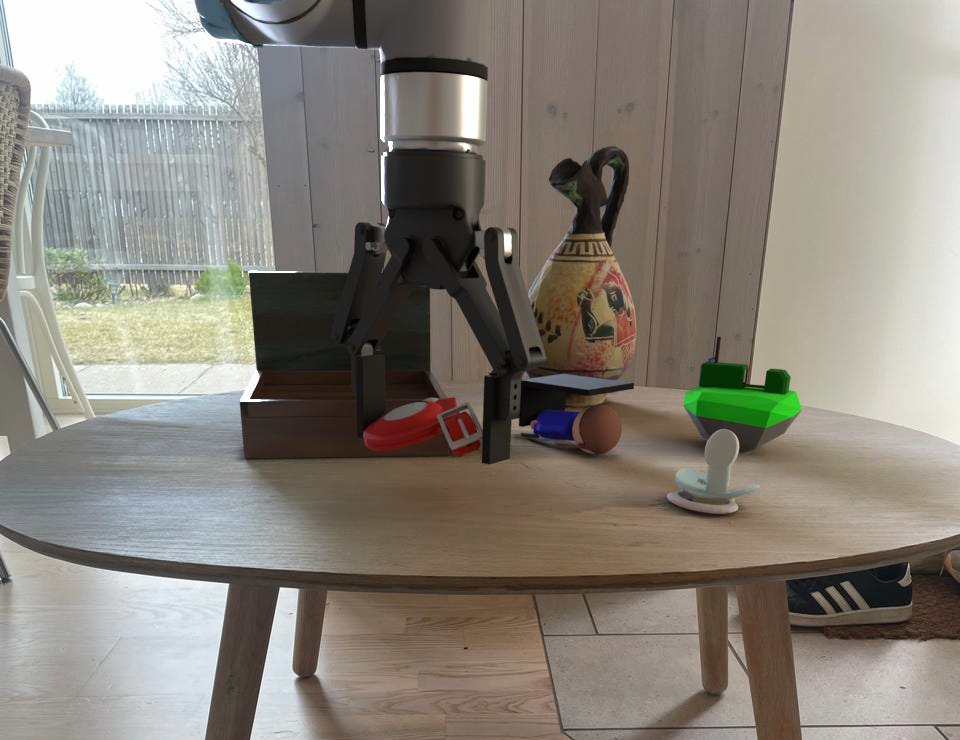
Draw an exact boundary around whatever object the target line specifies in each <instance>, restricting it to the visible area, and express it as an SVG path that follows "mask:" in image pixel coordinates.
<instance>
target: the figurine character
mask: <svg viewBox="0 0 960 740" xmlns="http://www.w3.org/2000/svg"><path fill="white" fill-rule="evenodd" d="M634 389H635V383H634V382H630V381H622V380H617V381H616V380H608V379H600V378H592V377H584V376H576V375H569V374H558V375H550V376H543V377H536V378H529V379H528V378H523V379H521V398H520V413H519V415H518V418H516V419H518V427H522V428H524V427H529V426H530V428H531V430H532V432H527V431H521V432H520V435H521V437H522V438H531V439H539V438H540V437H541V438H544V439H550V440H551V439H552V440H560V441H570V442H575V444H576V446H577V447H578V448H579V449H580V450H581V451H583V452H584V453H586V454H590V455H603V454H605V453H608V452H609V451H611V450H613V449H614V448H615V447H616V446H617V445H618V443H619V442H620V440H621V437H622V433H623V432H622V431H623V424H622V420H621V418H620V416H619V415H618V413H617V412H616V411H615V410H614V409H612V408H611V407H610V406H607V405H603V404H598V405H588V406H586V407H585V408H583V409H582V410H581V411H572V410H566V408H567V406H566V393H572V394H578V395H585V396H592V395H598V394H605V393H608V394H611V393H617V392H622V391H629V390H634ZM516 419H515V420H516Z"/></svg>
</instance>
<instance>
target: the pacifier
mask: <svg viewBox="0 0 960 740" xmlns="http://www.w3.org/2000/svg"><path fill="white" fill-rule="evenodd" d="M704 447H705V448H704V458H705V462H706V464H707V471H706V474H705V473H704V472H702V471H699V470H696V469H693V468H688V467H683V468H680V469H678V470H677V472H676V474H675V483H676V485H677V486H678V487H679V489H680V490H676V491H672V492H669V493H668V495H667V499H668V500H669V502H671V504H674V505H676V506H678V507H681V508H683V509H687V510H690V511H695V512H700V513H707V514H717V515H718V514H719V515H721V514H723V515H724V514H732V513H735V512H736V511H738V510H739V505H738V504H737V502H735V501H736V498H740V497H744V496H747V495H750V494H752V493H754V492H756V491H758V490H760V486H761V485H760V484H757V485H753V486H750V487H746V488H737V489H736V488H735V489H729V485H730V478H731V469H732V465H733V464H734V463H735V461H736V460H737V457H738V455H739V453H740V451H739V441H738V439H737V437H736V435H735V434H734V433H733V432H732V431H730V430H727V429H721V430H718V431H716V432H715V433H714V434H712V435H711V437H710V438H709V440H707V442H706V444H705V446H704ZM699 482H700V483H699ZM701 483H702V484H701ZM689 499H692V500H689Z"/></svg>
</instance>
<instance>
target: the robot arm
mask: <svg viewBox="0 0 960 740" xmlns="http://www.w3.org/2000/svg"><path fill="white" fill-rule="evenodd" d="M194 4H195V9H196V12H197V13H198V16H199V21H200V24H201V27H202V28H203V29H204V32H206V34H207V35H208V36H209V37H210V38H212V39H213V40H215V41H218V42H226V43H235V44H243V45H249V46H250V47H252V48H254V49H255V48H256V49H259V48H260V49H261V48H264V46H275V47H276V46H278V47H306V48H307V47H308V48H337V49H338V48H340V49H341V48H342V49H343V48H344V49H357V50H362V51H363V50H366V51H367V50H377V51H379V57H380V66H379V67H380V139H381V141H382V142H383V143H385V144H388V147H389V150H386V151H384V152H383V155H381V158H380V160H381V161H380V162H381V163H380V166H381V168H380V169H381V170H380V171H381V202H382V204H383V206H384V207H386V208H387V211H388V218H387V222H386V224H385V223H383V222H371V221H370V222H369V221H367V222H366V221H359V222H357V223H356V225H355V227H354V240H353V241H354V245H353V255H352V259H351V262H350V266H349V269H348V271H347V272H348V276H347V279H346V283H345V286H344V290H343V293H342V296H341V300H340V303H339V307H338V310H337V314H336V317H335V321H334V324H333V328H332V331H331V341H332V342H333V343H334V344H335V345H337V344H340V345H341V346H343V347H344V348H346V349H347V351H348V353H349V354H350V356H351V375H352V376H351V380H352V381H351V385H352V391H353V394H356V399H357V437H360V438H364V437H363V433H364V431H365V429H366V428H367V427H368V426H369V425H370V424H372V423H373V422H375V421H377V420H378V419H380V418H381V417H382V416H383V415H384V414H385V355H380V354H376V355H373V353H375V352H381V351H382V349H378V348H380V346H379V345H380V343H381V342H382V340H383V338H384V337H385V335H386V333H387V331H388V330H389V328H390V326H391V325H392V323H393V321H394V320H395V318H396V316H397V315H398V313H399V311H400V310H401V308H402V306H403V305H404V303H405V301H406V299H407V298H408V296H409V294H410V293H411V292H412V291H414V290H415V289H416V288H418V287H429V288H430V290H437V291H438V290H446V292H447V294H448V295H449V296H450V297H451V298H453V299H454V300H455V301H456V303H457V305H458V307H459V308H460V310H461V313H462V314H463V316H464V318H465V320H466V322H467V324H468V326H469V327H470V329H471V331H472V333H473V335H474V336H475V338H476V340H477V342H478V344H479V346H480V348H481V349H482V351H483V353H484V356H485V357H486V359H487V361H488V363H489V365H490V366H491V368H492V370H491V371H490V372H489V373H488V374H486V375H484V376H483V400H482V401H483V403H482V405H483V407H482V408H483V409H482V430H483V432H482V439H481V464H483V465H484V464H485V465H493V464H497V463H500V462H504V461H507V460H511V442H512V421H513V420H516V418H517V419H519V418H518V415H519V413H520V398H521V380H522V378H523V375H524V374H525V372H526V371H528V370H531V369H534V368H538V367H542V366H544V365H545V363H546V354H545V351H544V347H543V344H542V340H541V337H540V334H539V330H538V327H537V324H536V320H535V317H534V314H533V310H532V307H531V303H530V300H529V297H528V291H527V286H526V284H525V281H524V277H523V273H522V269H521V267H520V262H519V239H518V238H519V237H518V236H519V235H518V232H517V230H516V229H515V228H514V227H503V226H502V227H501V226H500V227H499V226H490V227H488V228H486V229H485V230H482V227H481V222H480V213H481V211H482V210H483V208H484V206H485V199H486V198H485V197H486V195H485V194H486V159H484V156H483V154H478V148H479V147H483V146H484V145H485V143H486V142H487V114H488V113H487V110H488V81H489V80H488V79H489V77H488V76H489V58H490V57H489V56H490V55H489V54H490V34H491V33H490V28H491V10H492V9H491V7H492V0H194ZM387 251H388V252H389V253H390V255H391V256H390V258H389V259H388V262H386V258H387ZM479 256H480V257H481V258H483V261H484V265H485V270H486V274H487V278H488V281H489V284H490V288H491V291H492V294H493V297H494V298H493V299H494V301H495V303H494V301H493V299H492V297H491V295H490V294H489V292H488V289H487V286H488V283H487V280H486V278H485V276H484V275H483V272H482V271H481V269H480V267H479V265H478V263H477V261H476V260H477V258H478V257H479ZM385 262H386V265H385ZM384 266H385V267H384ZM381 273H382V274H381ZM379 279H380V281H381V283H380V285H379V287H378V289H377V286H378V282H379ZM376 289H377V290H376ZM348 327H349V328H348Z"/></svg>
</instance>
